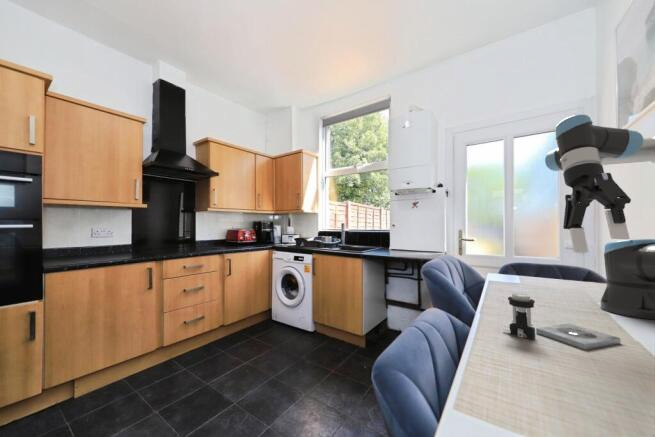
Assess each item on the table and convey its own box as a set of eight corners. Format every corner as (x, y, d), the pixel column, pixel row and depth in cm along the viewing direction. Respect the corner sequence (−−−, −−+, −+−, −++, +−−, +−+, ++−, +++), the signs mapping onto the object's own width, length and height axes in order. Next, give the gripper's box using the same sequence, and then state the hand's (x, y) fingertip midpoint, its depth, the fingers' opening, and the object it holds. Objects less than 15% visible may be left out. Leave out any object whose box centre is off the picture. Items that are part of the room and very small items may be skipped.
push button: (500, 333, 64) (498, 293, 65) (507, 329, 67) (505, 290, 68) (532, 342, 59) (530, 299, 60) (539, 337, 62) (537, 295, 63)
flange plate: (568, 328, 68) (568, 323, 68) (620, 343, 58) (620, 338, 59) (536, 333, 65) (536, 328, 65) (585, 350, 55) (585, 344, 55)
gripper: (542, 189, 80) (552, 255, 74) (595, 141, 58) (617, 230, 51) (571, 188, 78) (585, 257, 72) (639, 139, 56) (668, 231, 49)
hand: (598, 246), depth 61 cm, fingers open, 13 cm apart
